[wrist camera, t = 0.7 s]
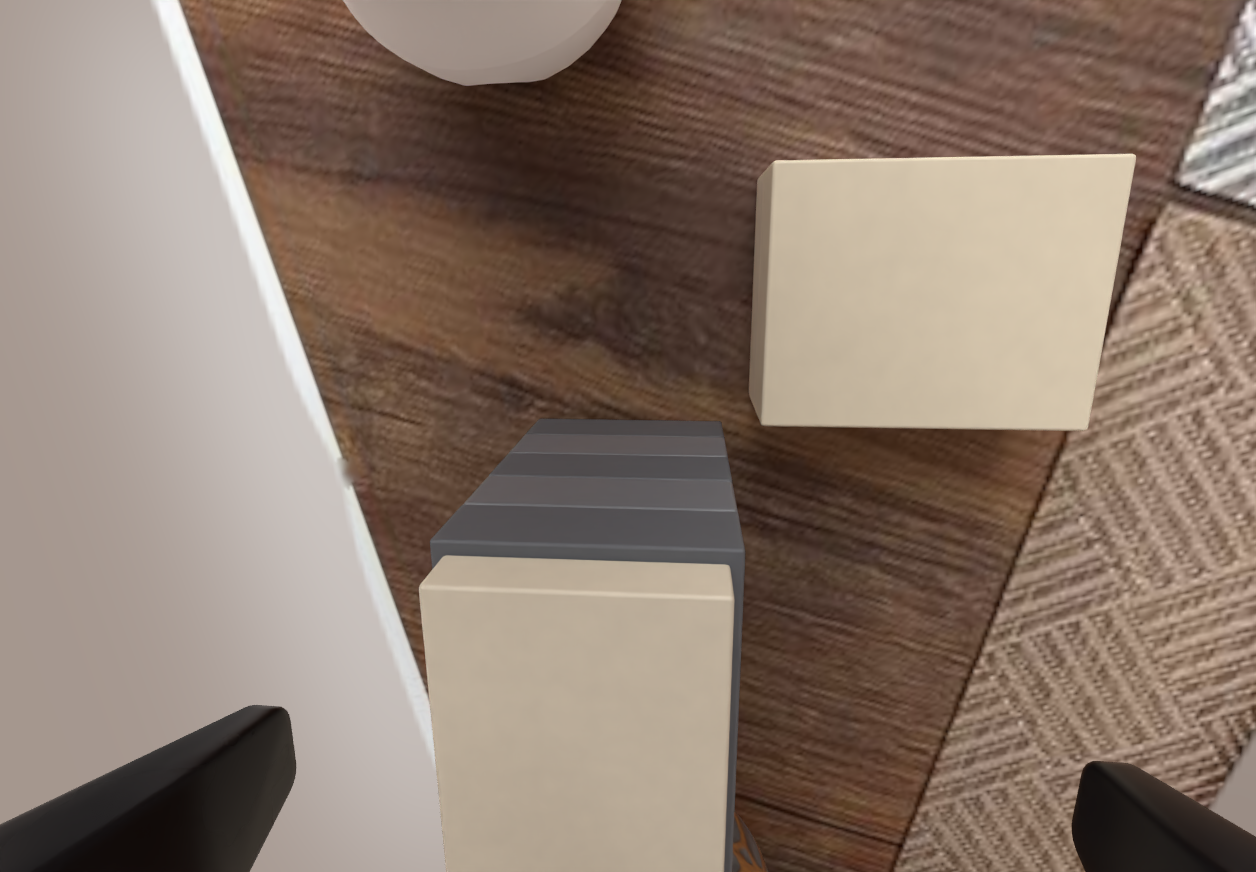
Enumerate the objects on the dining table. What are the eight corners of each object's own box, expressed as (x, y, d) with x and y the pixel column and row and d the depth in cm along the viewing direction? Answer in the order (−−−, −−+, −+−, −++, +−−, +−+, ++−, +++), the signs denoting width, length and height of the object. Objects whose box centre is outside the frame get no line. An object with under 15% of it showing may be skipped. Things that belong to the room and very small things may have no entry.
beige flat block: (717, 928, 13) (719, 991, 12) (473, 908, 14) (453, 968, 13) (730, 563, 11) (735, 597, 10) (442, 553, 12) (416, 585, 11)
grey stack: (713, 671, 22) (729, 938, 14) (549, 663, 23) (463, 917, 14) (721, 420, 20) (745, 549, 11) (538, 418, 20) (428, 539, 12)
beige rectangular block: (1016, 399, 19) (1088, 431, 16) (748, 396, 20) (760, 426, 16) (1049, 172, 17) (1138, 153, 14) (756, 178, 18) (773, 159, 15)
